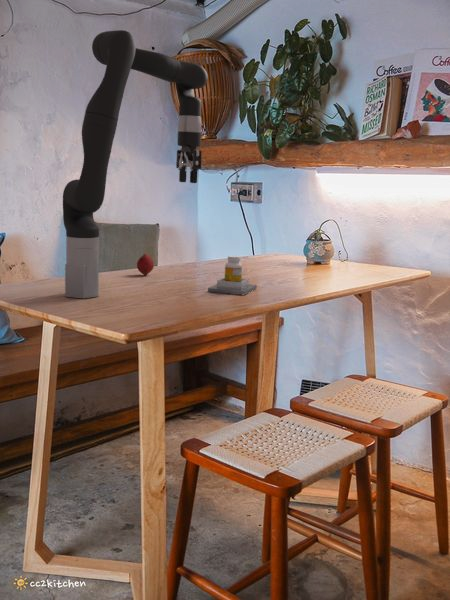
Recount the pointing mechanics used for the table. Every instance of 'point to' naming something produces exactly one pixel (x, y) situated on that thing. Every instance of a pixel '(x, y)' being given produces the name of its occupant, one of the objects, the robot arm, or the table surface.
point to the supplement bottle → (233, 269)
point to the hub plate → (232, 287)
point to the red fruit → (145, 264)
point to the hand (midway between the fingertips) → (187, 182)
